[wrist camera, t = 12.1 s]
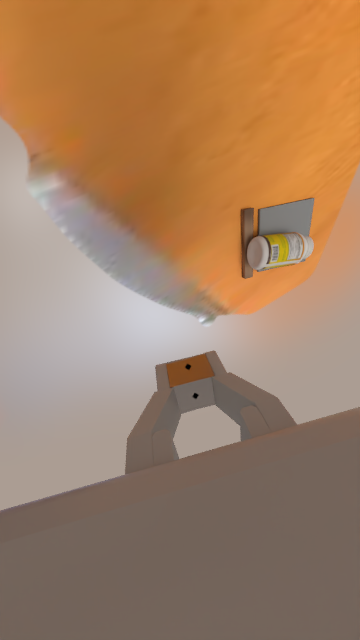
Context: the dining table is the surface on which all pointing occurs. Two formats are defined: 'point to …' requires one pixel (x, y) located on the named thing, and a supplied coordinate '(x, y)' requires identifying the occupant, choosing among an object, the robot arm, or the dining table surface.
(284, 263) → the supplement bottle
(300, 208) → the felt tile
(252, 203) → the dining table surface
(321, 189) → the dining table surface
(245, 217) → the strip
